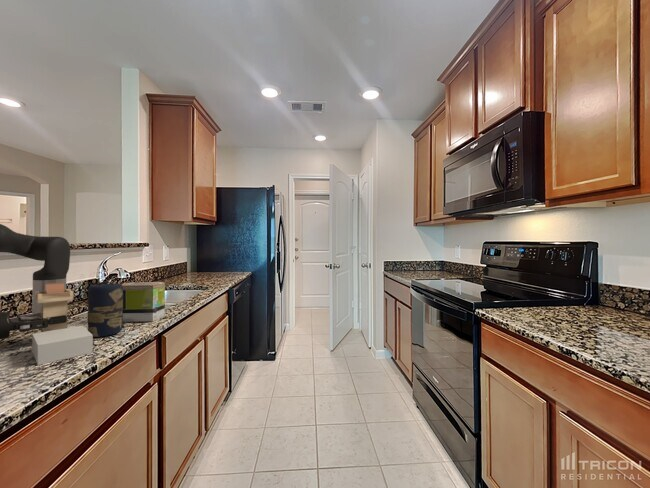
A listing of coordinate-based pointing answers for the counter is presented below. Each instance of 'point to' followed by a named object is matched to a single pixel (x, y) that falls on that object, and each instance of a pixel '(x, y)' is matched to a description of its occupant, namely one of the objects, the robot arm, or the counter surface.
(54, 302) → the pedestal tray
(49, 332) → the dock
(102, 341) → the counter surface
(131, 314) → the tea box
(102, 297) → the canister
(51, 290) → the cargo block
